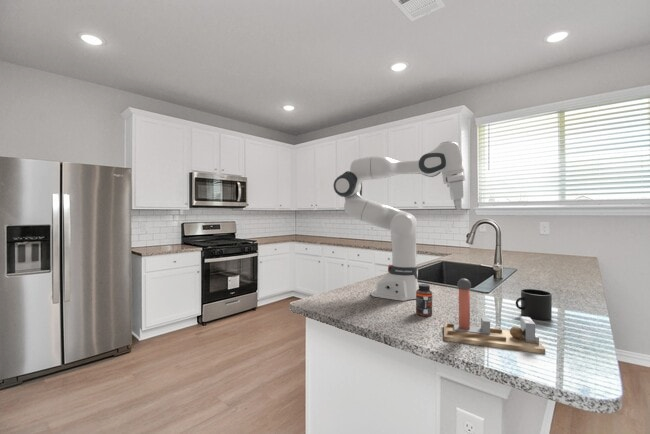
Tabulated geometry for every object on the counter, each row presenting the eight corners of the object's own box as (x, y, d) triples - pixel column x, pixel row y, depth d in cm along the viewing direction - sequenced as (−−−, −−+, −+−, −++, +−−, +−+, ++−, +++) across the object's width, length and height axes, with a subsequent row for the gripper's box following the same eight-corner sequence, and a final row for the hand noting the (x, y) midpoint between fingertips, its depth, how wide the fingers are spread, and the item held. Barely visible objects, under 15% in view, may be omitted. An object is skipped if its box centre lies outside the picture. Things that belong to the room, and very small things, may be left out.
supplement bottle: (430, 317, 113) (430, 287, 113) (414, 315, 117) (414, 285, 116) (433, 313, 118) (433, 284, 118) (418, 310, 122) (418, 282, 121)
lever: (454, 332, 96) (454, 279, 95) (453, 327, 100) (453, 276, 100) (490, 337, 92) (490, 281, 92) (487, 331, 97) (487, 278, 97)
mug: (508, 311, 119) (508, 288, 119) (540, 312, 119) (541, 289, 118) (523, 320, 110) (523, 295, 110) (557, 320, 109) (558, 295, 109)
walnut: (511, 339, 91) (511, 328, 91) (508, 335, 94) (508, 324, 94) (524, 341, 90) (524, 329, 90) (521, 336, 93) (521, 325, 93)
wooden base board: (444, 340, 94) (444, 333, 94) (443, 326, 105) (443, 320, 105) (545, 353, 84) (545, 345, 84) (533, 336, 95) (533, 329, 95)
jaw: (525, 342, 88) (525, 323, 88) (520, 335, 94) (520, 316, 94) (539, 344, 87) (539, 324, 87) (533, 336, 93) (533, 317, 93)
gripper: (445, 181, 145) (449, 210, 145) (447, 177, 125) (452, 211, 125) (459, 178, 143) (463, 208, 143) (464, 175, 123) (469, 209, 123)
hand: (458, 209), depth 134 cm, fingers open, 8 cm apart
